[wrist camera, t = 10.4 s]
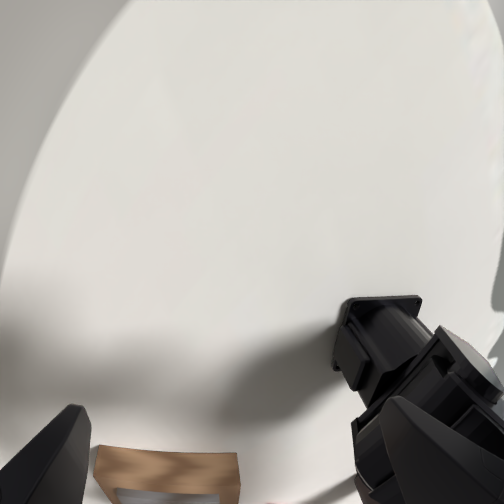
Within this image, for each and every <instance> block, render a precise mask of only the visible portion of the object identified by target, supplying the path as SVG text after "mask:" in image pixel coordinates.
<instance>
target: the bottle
mask: <svg viewBox="0 0 504 504" xmlns="http://www.w3.org/2000/svg"><path fill="white" fill-rule="evenodd" d="M355 485H356V487H357V490H358V492H359V495H360V497H361V500H362V502H363V504H380V503H378V502H377V501H375V500H373V499H372V498H370V497H369V495H368V494H369V492H371V490H369V489H368V488H367V487H366V486H365V485H364V484H363V483H362V481H361V479H360V478H359V477H358V476H357V477H356V478H355Z"/></svg>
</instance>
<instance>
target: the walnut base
mask: <svg viewBox="0 0 504 504" xmlns="http://www.w3.org/2000/svg"><path fill="white" fill-rule="evenodd" d="M93 476H94V478H95V480H96V481H97V483H98V484H99V486H100V487H101V488H102V490H103V491H104V493H105V494H106V496H107V497H108V498H109V500H110V501H111V503H112V504H238V501H239V494H240V487H241V483H240V476H239V468H238V461H237V453H175V452H158V451H146V450H135V449H126V448H118V447H111V446H104V445H99V449H98V453H97V458H96V463H95V468H94V473H93Z"/></svg>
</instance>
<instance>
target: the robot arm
mask: <svg viewBox="0 0 504 504" xmlns="http://www.w3.org/2000/svg"><path fill="white" fill-rule="evenodd" d="M416 301H417V302H416ZM415 302H416V303H415ZM355 304H357V305H356V306H355V307H353V306H354V305H355ZM421 304H422V299H421V298H420V297H419V296H418V295H409V296H387V297H359V298H352V299H351V300H350V301H349V302H348V305H347V309H346V313H345V317H344V320H343V324H342V326H341V327H340V329H339V333H338V337H337V340H336V344H335V348H334V351H333V356H334V357H333V360H332V363H331V366H332V369H333V370H334V371H342V373H343V375H344V377H345V379H346V381H347V383H348V385H349V387H350V389H351V390H352V391H358V393H359V395H360V397H361V399H362V401H363V402H364V404H365V406H366V408H367V410H366V411H365V412H364V413H363V414H362V415H361V416H360V417H359V418H358V417H357V418H356V419H355V420H354V421H352V422H351V428H352V437H353V447H354V457H355V467H356V471H357V474H358V477H359V478H360V479H361V481H362V483H363V484H364V485H365V486H366V487H367V488H368V489H369V490H371V492H369V494H368V495H369V497H370V498H372V499H373V500H375V501H377V502H378V503H380V504H504V401H503V400H502V399H501V397H502V396H503V395H504V387H503V385H502V384H501V382H500V380H499V379H498V377H497V375H496V374H495V372H494V370H493V369H492V367H491V365H490V364H489V362H488V361H487V360H486V359H485V358H484V357H483V356H482V355H481V354H480V353H479V352H477V351H476V350H475V349H474V348H473V347H472V346H471V345H470V344H469V343H467V342H466V341H464V340H463V339H461V338H460V337H458V336H457V335H455V334H453V333H452V332H450V331H449V330H447V329H446V328H444V327H442V326H441V325H439V326H438V328H437V329H436V330H435V334H434V335H433V333H432V332H431V331H430V330H429V329H428V328H427V327H426V326H425V325H424V324H423V323H422V322H421V321H420V320H419V319H418V318H417V316H418V313H419V310H420V307H421ZM337 365H338V366H337ZM90 438H91V422H90V420H89V417H88V415H87V412H86V410H85V408H84V407H83V406H82V405H78V404H69V405H68V406H67V407H66V408H65V409H63V410H62V411H61V412H60V413H59V414H58V415H57V416H56V417H55V418H54V419H53V420H52V421H51V422H50V423H49V424H48V425H47V426H46V427H44V428H43V429H42V430H41V431H40V432H39V433H38V434H37V435H36V436H35V437H34V438H33V439H32V440H31V441H30V442H29V443H28V444H27V445H26V446H25V447H24V448H23V449H22V450H20V451H19V452H18V453H17V454H16V455H15V456H14V457H13V458H12V459H11V460H10V461H9V462H8V463H7V464H6V465H5V466H4V467H3V468H2V469H1V470H0V504H82V501H83V495H84V489H85V484H86V479H87V472H88V461H89V449H90Z"/></svg>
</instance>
